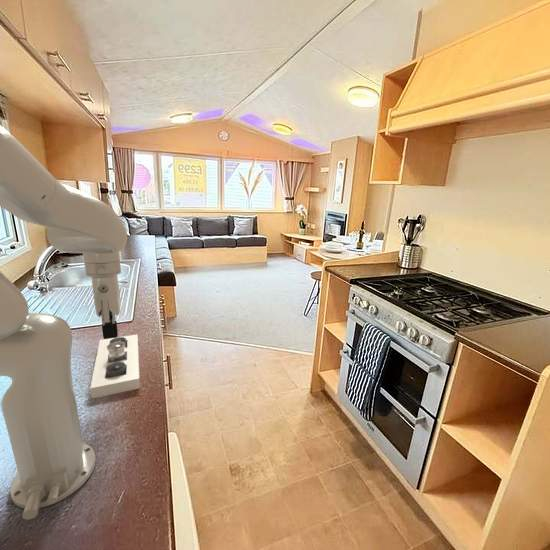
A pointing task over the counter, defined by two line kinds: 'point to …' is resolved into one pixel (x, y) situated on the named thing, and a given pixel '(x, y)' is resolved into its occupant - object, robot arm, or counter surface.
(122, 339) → the knob far
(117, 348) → the knob middle
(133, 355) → the panel
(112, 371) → the knob near
